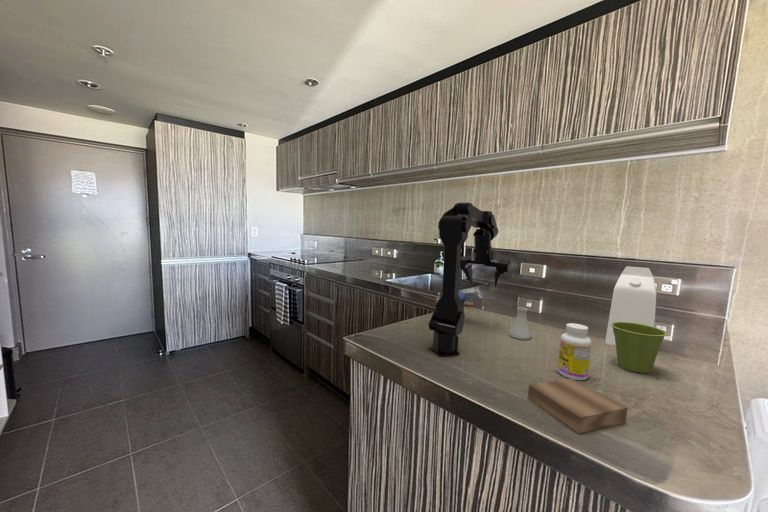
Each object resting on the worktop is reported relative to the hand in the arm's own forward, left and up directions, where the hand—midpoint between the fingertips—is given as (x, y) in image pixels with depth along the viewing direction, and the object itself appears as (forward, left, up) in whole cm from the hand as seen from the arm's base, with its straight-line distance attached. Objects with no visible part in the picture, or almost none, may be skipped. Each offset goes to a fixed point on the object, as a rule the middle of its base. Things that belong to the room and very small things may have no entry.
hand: (483, 284), depth 116 cm
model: (+11, +30, -16) cm, 36 cm away
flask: (+6, -14, -16) cm, 22 cm away
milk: (+39, -28, -16) cm, 51 cm away
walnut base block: (-16, -53, -16) cm, 57 cm away
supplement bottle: (-2, -41, -16) cm, 44 cm away
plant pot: (+19, -42, -16) cm, 49 cm away
